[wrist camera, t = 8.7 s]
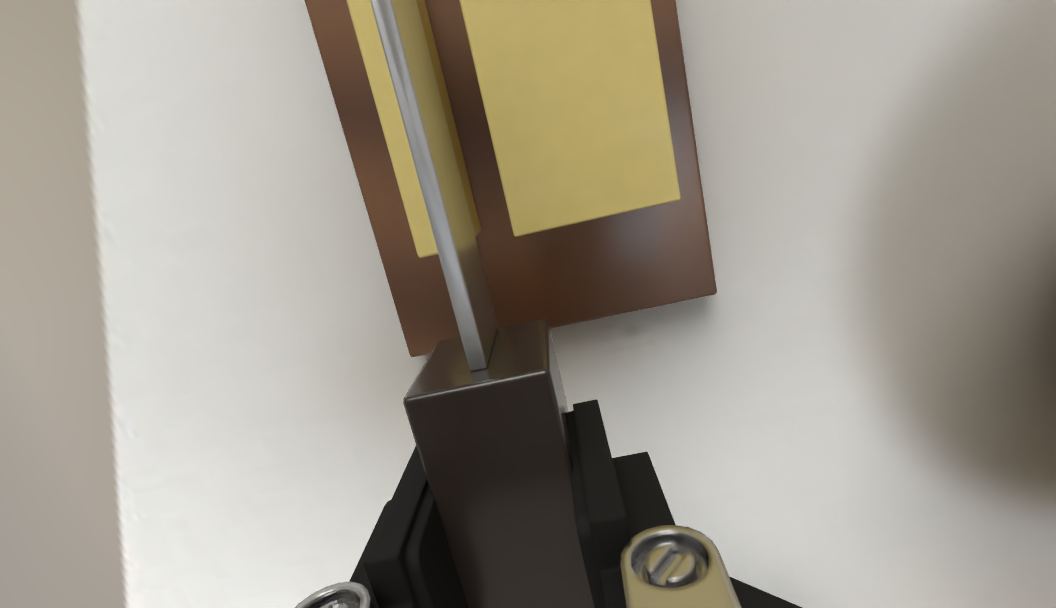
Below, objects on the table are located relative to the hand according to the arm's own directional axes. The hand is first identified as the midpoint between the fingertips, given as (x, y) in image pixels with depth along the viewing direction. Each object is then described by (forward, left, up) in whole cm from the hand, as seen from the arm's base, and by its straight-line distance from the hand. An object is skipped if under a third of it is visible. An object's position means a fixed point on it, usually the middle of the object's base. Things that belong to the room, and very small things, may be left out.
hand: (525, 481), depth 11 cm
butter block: (-8, +3, -6) cm, 11 cm away
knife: (-4, 0, -1) cm, 4 cm away
